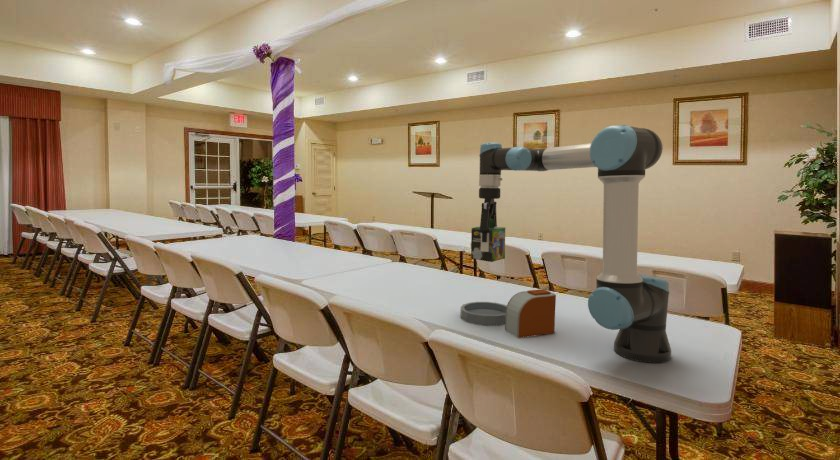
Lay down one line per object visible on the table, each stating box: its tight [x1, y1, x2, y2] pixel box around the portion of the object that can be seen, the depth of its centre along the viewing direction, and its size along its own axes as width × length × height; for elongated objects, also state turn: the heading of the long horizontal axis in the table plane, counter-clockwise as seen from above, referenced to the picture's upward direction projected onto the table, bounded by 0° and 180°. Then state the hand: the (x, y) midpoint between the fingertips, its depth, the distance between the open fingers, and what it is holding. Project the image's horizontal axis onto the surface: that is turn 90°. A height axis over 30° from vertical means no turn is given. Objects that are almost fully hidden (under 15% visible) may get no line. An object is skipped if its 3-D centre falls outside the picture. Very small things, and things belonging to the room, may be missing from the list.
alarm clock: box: [504, 288, 557, 339], centre depth 154 cm, size 15×8×14 cm, turn 111°
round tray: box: [459, 301, 507, 327], centre depth 169 cm, size 18×18×3 cm
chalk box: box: [470, 219, 506, 263], centre depth 166 cm, size 9×9×15 cm
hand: (488, 249), depth 166 cm, fingers closed on chalk box, 10 cm apart
